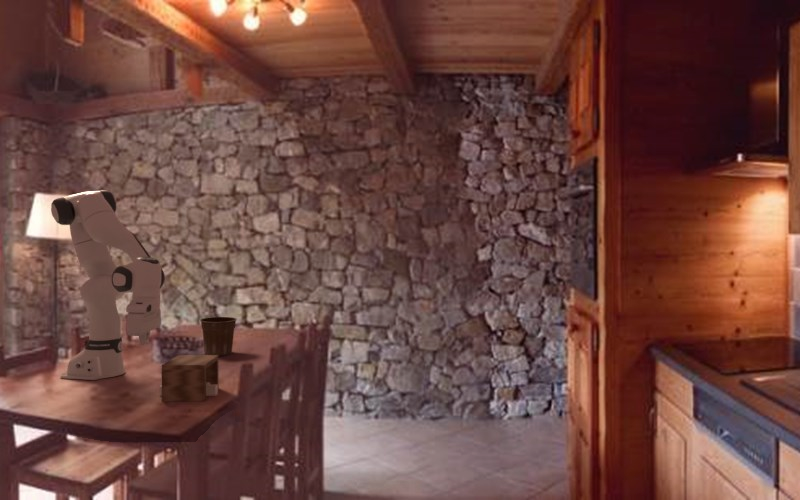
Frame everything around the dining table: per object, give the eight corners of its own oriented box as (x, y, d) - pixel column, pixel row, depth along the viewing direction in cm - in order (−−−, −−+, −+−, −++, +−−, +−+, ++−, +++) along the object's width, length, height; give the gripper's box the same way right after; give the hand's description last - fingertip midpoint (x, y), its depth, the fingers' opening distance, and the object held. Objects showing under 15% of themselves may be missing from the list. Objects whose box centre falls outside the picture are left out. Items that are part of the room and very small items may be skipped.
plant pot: (244, 352, 266) (244, 318, 266) (216, 359, 252) (216, 322, 252) (220, 349, 275) (220, 315, 274) (192, 354, 261) (192, 319, 261)
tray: (156, 397, 191) (156, 377, 191) (165, 391, 199) (165, 372, 199) (213, 397, 192) (213, 377, 192) (220, 391, 200) (220, 372, 200)
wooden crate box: (161, 401, 188) (161, 365, 187) (179, 388, 204) (178, 355, 203) (204, 401, 188) (204, 365, 188) (218, 388, 204) (218, 355, 204)
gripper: (148, 300, 205) (146, 338, 206) (123, 307, 185) (121, 349, 185) (166, 301, 206) (164, 339, 206) (143, 308, 185) (141, 351, 186)
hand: (143, 344), depth 195 cm, fingers closed
